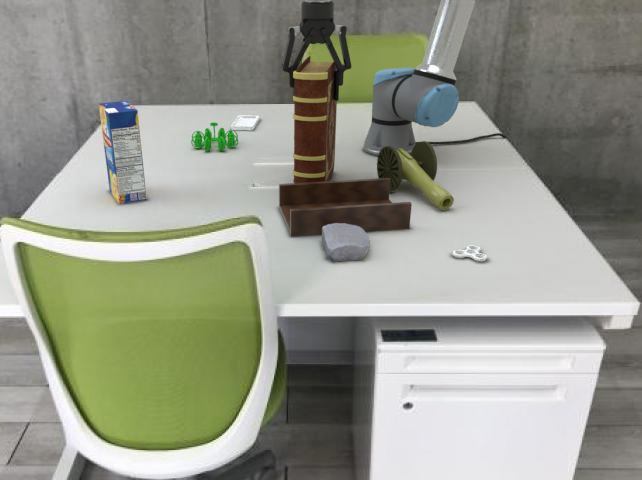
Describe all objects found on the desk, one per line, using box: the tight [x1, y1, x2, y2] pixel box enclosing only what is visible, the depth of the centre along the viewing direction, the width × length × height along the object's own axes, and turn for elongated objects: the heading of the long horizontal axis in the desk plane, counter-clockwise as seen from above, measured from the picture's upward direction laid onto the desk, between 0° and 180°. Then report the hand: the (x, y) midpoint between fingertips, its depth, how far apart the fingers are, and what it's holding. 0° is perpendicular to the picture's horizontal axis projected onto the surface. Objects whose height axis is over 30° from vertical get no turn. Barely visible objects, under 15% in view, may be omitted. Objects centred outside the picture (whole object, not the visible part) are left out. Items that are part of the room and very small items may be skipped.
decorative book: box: [292, 55, 338, 183], centre depth 181 cm, size 22×8×30 cm, turn 168°
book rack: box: [278, 177, 413, 237], centre depth 167 cm, size 27×18×6 cm, turn 98°
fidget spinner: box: [451, 244, 488, 262], centre depth 150 cm, size 7×6×1 cm
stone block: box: [321, 223, 371, 262], centre depth 152 cm, size 12×5×10 cm
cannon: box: [376, 140, 455, 211], centre depth 179 cm, size 25×12×11 cm, turn 23°
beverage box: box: [98, 100, 148, 205], centre depth 178 cm, size 7×11×22 cm, turn 24°
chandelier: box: [190, 122, 239, 153], centre depth 219 cm, size 15×15×7 cm
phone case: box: [230, 114, 261, 131], centre depth 242 cm, size 7×1×15 cm
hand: (315, 100), depth 178 cm, fingers open, 9 cm apart
